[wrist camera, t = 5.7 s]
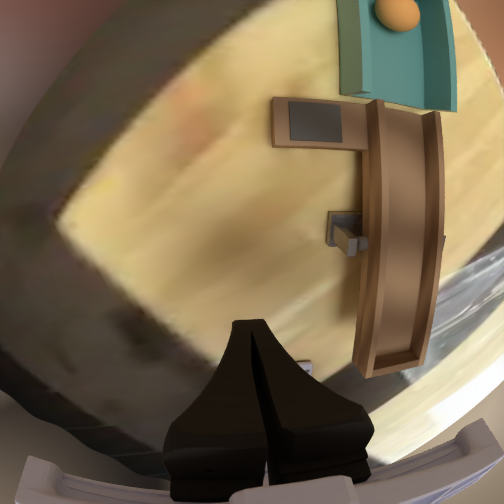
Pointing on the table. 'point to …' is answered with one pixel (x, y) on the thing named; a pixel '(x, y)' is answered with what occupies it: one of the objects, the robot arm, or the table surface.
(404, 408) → the table surface
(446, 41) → the teal open-ended tray
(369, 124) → the lever
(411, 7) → the ball
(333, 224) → the fulcrum
